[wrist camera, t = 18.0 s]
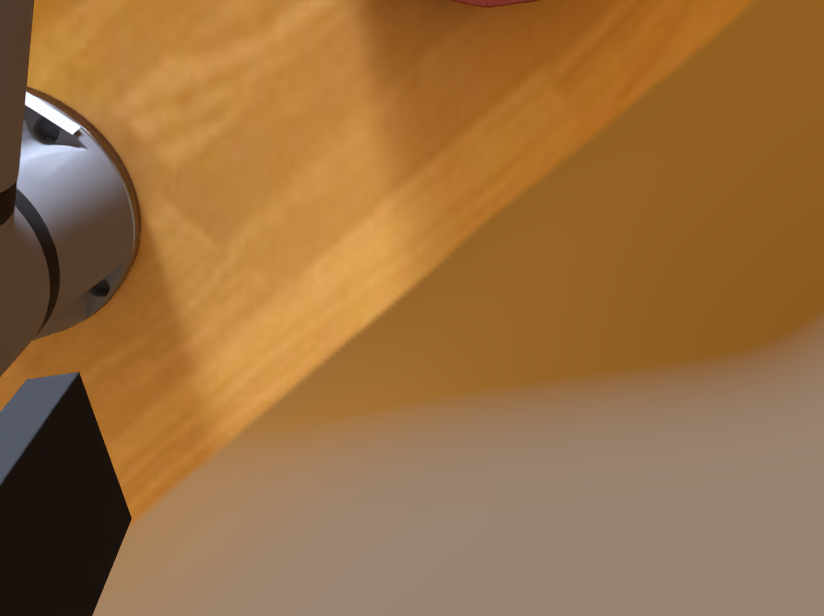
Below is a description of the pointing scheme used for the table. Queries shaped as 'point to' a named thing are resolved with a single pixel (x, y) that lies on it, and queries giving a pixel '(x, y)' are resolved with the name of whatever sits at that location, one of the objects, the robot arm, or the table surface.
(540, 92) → the table surface
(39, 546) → the robot arm
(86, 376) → the table surface
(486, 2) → the casserole
